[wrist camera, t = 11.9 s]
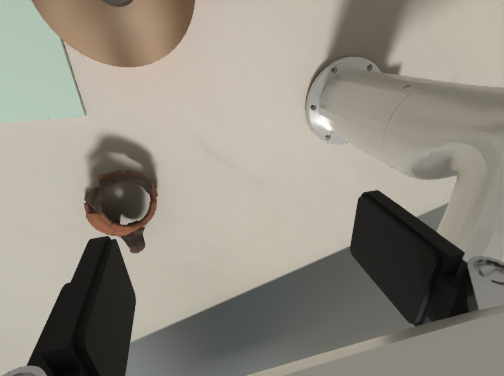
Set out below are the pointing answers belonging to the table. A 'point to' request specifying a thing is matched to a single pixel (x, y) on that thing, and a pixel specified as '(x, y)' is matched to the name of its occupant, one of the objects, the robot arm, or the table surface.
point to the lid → (119, 27)
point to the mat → (33, 68)
